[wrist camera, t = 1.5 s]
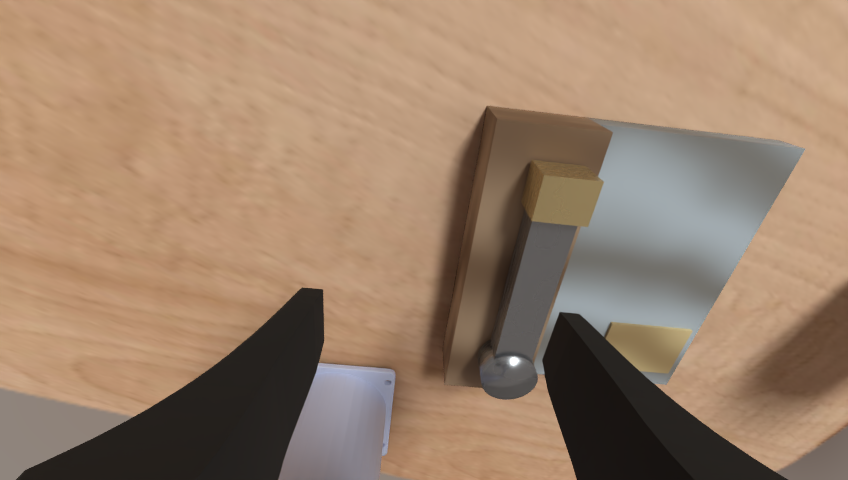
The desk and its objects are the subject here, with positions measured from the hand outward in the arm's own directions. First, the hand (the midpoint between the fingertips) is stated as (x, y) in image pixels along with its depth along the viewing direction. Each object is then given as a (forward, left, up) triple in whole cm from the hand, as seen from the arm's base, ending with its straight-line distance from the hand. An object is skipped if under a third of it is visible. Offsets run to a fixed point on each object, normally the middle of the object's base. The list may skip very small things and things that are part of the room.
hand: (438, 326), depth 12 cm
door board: (-3, -10, -11) cm, 15 cm away
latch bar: (-3, -5, -7) cm, 9 cm away
